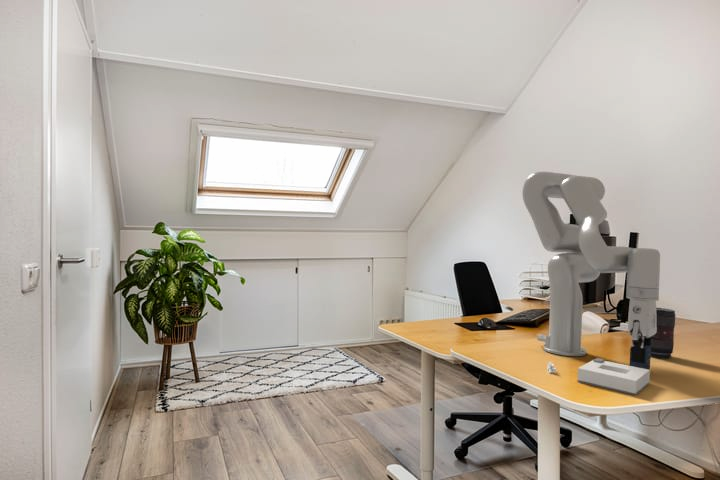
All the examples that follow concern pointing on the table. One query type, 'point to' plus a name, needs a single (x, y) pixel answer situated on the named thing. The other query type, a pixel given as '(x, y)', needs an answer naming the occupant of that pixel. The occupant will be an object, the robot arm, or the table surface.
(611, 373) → the socket block
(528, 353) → the table surface
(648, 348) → the vaping device
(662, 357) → the camera lens
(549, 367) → the power adapter
